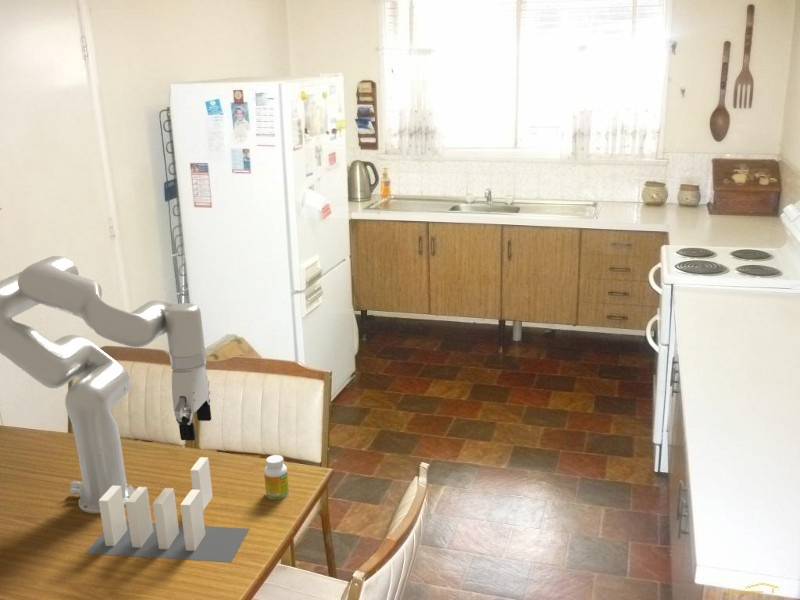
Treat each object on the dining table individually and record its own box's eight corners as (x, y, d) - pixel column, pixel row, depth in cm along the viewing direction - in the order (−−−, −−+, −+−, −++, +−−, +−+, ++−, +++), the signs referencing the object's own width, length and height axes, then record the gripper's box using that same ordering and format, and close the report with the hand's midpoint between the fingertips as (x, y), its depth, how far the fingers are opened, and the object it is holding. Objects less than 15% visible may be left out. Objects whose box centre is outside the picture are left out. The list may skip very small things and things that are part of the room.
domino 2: (132, 547, 162) (125, 501, 159) (144, 530, 168) (138, 486, 165) (141, 547, 162) (134, 502, 159) (153, 531, 168) (147, 487, 165)
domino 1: (105, 545, 163) (98, 500, 160) (118, 529, 169) (112, 485, 166) (114, 546, 163) (107, 500, 160) (127, 529, 168) (121, 485, 165)
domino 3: (158, 548, 162) (152, 503, 158) (170, 532, 167) (164, 488, 164) (167, 549, 161) (161, 503, 158) (179, 532, 167) (173, 488, 164)
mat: (85, 555, 161) (85, 553, 161) (113, 523, 172) (112, 521, 172) (231, 564, 157) (231, 562, 157) (249, 530, 168) (249, 528, 168)
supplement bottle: (284, 502, 179) (281, 465, 176) (262, 500, 180) (259, 463, 177) (292, 490, 184) (289, 454, 181) (270, 488, 185) (268, 452, 182)
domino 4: (195, 512, 176) (190, 470, 172) (204, 498, 181) (200, 457, 178) (203, 513, 175) (198, 470, 172) (212, 499, 181) (208, 457, 178)
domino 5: (185, 550, 161) (180, 504, 158) (196, 533, 166) (191, 489, 163) (194, 550, 161) (189, 505, 157) (205, 534, 166) (200, 489, 163)
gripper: (187, 345, 176) (195, 412, 181) (155, 374, 160) (164, 447, 165) (218, 345, 175) (225, 413, 180) (189, 374, 159) (198, 448, 164)
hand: (196, 429), depth 173 cm, fingers open, 9 cm apart
